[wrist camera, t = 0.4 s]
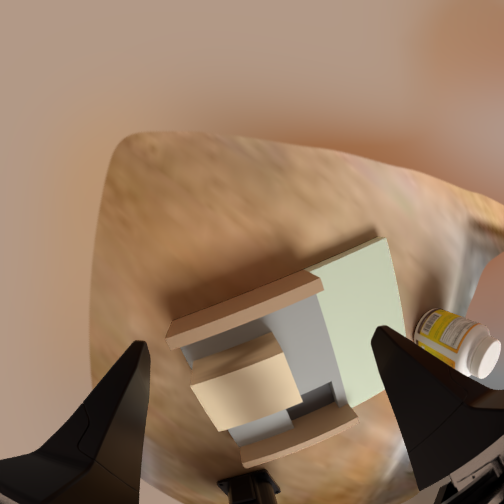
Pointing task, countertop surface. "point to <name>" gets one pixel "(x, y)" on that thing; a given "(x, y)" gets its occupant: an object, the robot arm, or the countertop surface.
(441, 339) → the supplement bottle
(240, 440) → the board
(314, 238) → the countertop surface
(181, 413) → the countertop surface
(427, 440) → the robot arm
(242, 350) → the block
